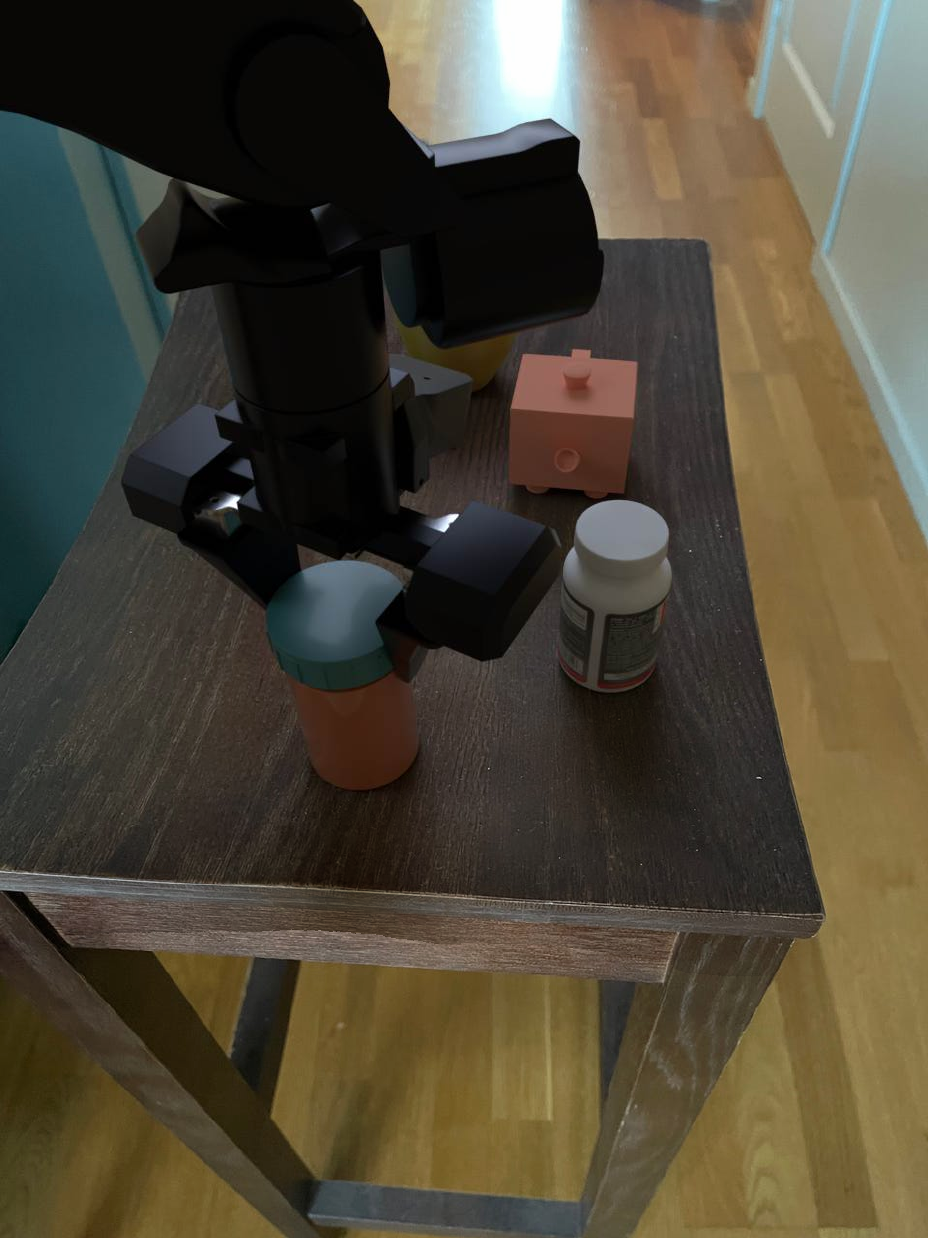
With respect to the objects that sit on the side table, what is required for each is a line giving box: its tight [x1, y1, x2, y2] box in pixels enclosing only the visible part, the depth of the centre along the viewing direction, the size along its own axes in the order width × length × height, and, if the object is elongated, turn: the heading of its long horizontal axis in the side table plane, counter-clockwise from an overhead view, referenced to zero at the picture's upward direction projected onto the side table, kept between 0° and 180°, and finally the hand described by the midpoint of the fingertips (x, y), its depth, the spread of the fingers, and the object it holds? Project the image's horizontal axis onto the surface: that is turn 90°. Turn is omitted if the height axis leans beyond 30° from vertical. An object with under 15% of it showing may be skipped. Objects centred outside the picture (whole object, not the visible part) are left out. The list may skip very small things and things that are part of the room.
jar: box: [285, 668, 421, 791], centre depth 46 cm, size 6×6×10 cm
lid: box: [265, 559, 404, 690], centre depth 42 cm, size 7×7×2 cm
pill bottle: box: [557, 499, 673, 693], centre depth 49 cm, size 6×6×10 cm
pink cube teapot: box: [508, 348, 639, 499], centre depth 62 cm, size 8×12×8 cm, turn 171°
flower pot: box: [390, 303, 517, 393], centre depth 71 cm, size 10×10×7 cm
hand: (353, 650), depth 45 cm, fingers closed on lid, 6 cm apart
